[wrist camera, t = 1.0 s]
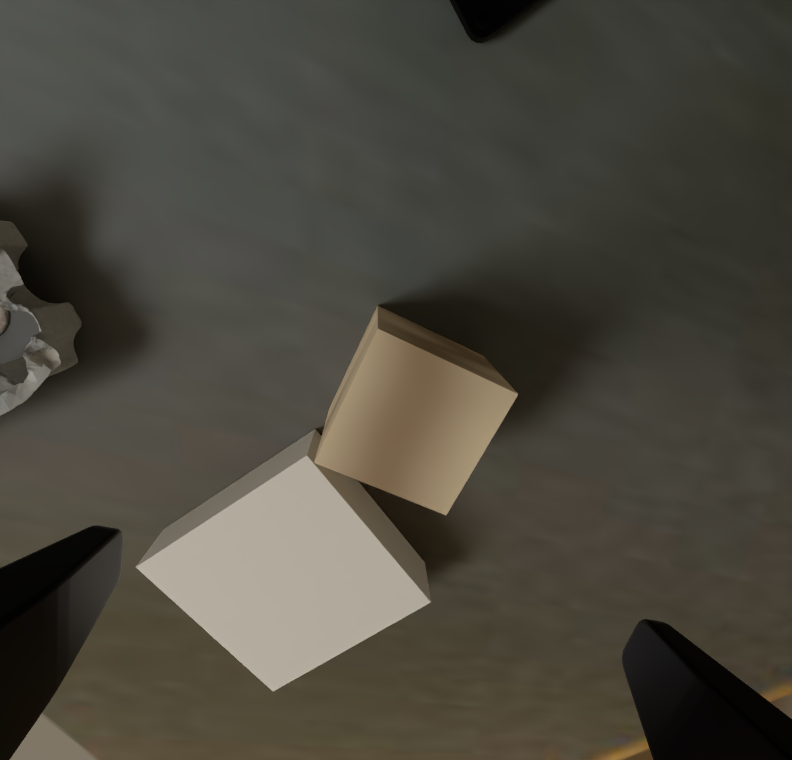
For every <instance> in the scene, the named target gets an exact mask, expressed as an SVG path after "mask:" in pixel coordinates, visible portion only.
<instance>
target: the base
mask: <svg viewBox="0 0 792 760" xmlns="http://www.w3.org/2000/svg"><path fill="white" fill-rule="evenodd" d="M320 440H321V435H320V434H319V433H318V431H317V430H316V429H314V430H313V431H311V432H310V433H308V434H307V435H305V436H304V437H302V438H301V439H299V440H298V441H296V442H295V443H293V444H292V445H290V446H289V447H287V448H286V449H284V450H283V451H281V452H280V453H278V454H277V455H275V456H274V457H272V458H271V459H269V460H268V461H266V462H265V463H263V464H262V465H260V466H259V467H257V468H255V469H254V470H252V471H251V472H249V473H248V474H246V475H245V476H243V477H242V478H240V479H239V480H237V481H236V482H234V483H233V484H231V485H230V486H228V487H227V488H225V489H224V490H222V491H221V492H219V493H218V494H216V495H215V496H213V497H212V498H210V499H209V500H207V501H206V502H204V503H203V504H201V505H200V506H198V507H197V508H195V509H194V510H192V511H190V512H189V513H187V514H186V515H184V516H183V517H181V518H180V519H178V520H177V521H175V522H174V523H172V524H171V525H169V526H168V527H166V528H165V529H163V531H162V532H161V533H160V535H159V536H158V538H157V539H156V540H155V542H154V543H153V544H152V546H151V547H150V548H149V550H148V551H147V552H146V554H145V555H144V557H143V558H142V559H141V561H140V562H139V563H138V565H137V566H136V568H137V569H138V570H139V571H141V572H142V573H143V574H144V575H145V576H146V577H147V578H148V579H149V580H150V581H152V582H153V583H154V584H155V585H156V586H157V587H158V588H159V589H160V590H162V591H163V592H164V593H165V594H166V595H167V596H168V597H169V598H170V599H171V600H173V601H174V602H175V603H176V604H177V605H178V606H179V607H180V608H181V609H182V610H184V611H185V612H186V613H187V614H188V615H189V616H190V617H191V618H192V619H193V620H195V621H196V622H197V623H198V624H199V625H200V626H201V627H202V628H203V629H205V630H206V631H207V632H208V633H209V634H210V635H211V636H212V637H213V638H214V639H216V640H217V641H218V642H219V643H220V644H221V645H222V646H223V647H224V648H225V649H227V650H228V651H229V652H230V653H231V654H232V655H233V656H234V657H235V658H236V659H238V660H239V661H240V662H241V663H242V664H243V665H244V666H245V667H246V668H248V669H249V670H250V671H251V672H252V673H253V674H254V675H255V676H256V677H257V678H259V679H260V680H261V681H262V682H263V683H264V684H265V685H266V686H267V687H268V688H270V689H271V690H272V691H275V690H277V689H278V688H280V687H282V686H284V685H285V684H287V683H289V682H291V681H293V680H294V679H296V678H298V677H300V676H301V675H303V674H305V673H307V672H308V671H310V670H312V669H314V668H316V667H317V666H319V665H321V664H323V663H324V662H326V661H328V660H330V659H331V658H333V657H335V656H337V655H339V654H340V653H342V652H344V651H346V650H347V649H349V648H351V647H353V646H354V645H356V644H358V643H360V642H361V641H363V640H365V639H367V638H369V637H370V636H372V635H374V634H376V633H377V632H379V631H381V630H383V629H384V628H386V627H388V626H390V625H392V624H393V623H395V622H397V621H399V620H400V619H402V618H404V617H406V616H407V615H409V614H411V613H413V612H415V611H416V610H418V609H420V608H422V607H423V606H425V605H427V604H429V603H430V602H431V599H430V593H429V586H428V579H427V573H426V566H425V562H424V561H423V560H422V558H421V557H420V556H419V555H418V554H417V552H416V551H415V550H414V549H413V547H412V546H411V545H410V544H409V543H408V541H407V540H406V539H405V538H404V536H403V535H402V534H401V533H400V532H399V530H398V529H397V528H396V527H395V525H394V524H393V523H392V522H391V521H390V519H389V518H388V517H387V516H386V514H385V513H384V512H383V511H382V510H381V508H380V507H379V506H378V505H377V504H376V502H375V501H374V500H373V499H372V497H371V496H370V495H369V494H368V493H367V491H366V490H365V489H364V488H363V486H362V485H361V484H360V483H359V482H358V480H356V479H353V478H351V477H348V476H346V475H343V474H341V473H338V472H336V471H333V470H331V469H328V468H326V467H323V466H321V465H318V464H316V463H314V461H315V458H316V454H317V450H318V447H319V443H320Z"/></svg>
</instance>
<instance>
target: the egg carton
mask: <svg viewBox="0 0 792 760" xmlns="http://www.w3.org/2000/svg"><path fill="white" fill-rule="evenodd" d="M27 246H28V245H27V243H26V241H25V239H24V238H23V236H22V235H21V234H20V232H19V231H18V229H17V227H16V226H15V225H14V224H13V222H10V221H0V334H2V333H3V332H4V330H5V329H6V328H7V325H8V321H9V311H8V310H10V311H24V312H29V313H30V314H31V315H32V316H33V317H34V318H35V320H36V322H37V323H38V325H39V330H40V333H38V334H37V335H34V336H31V341H30V343H29V344H28V345H27V346H26V347H25V350H24V353H23V357H24V358H19V359H17V360H13V361H10V362H7V363H4V364H0V416H1V415H2V414H4V413H6V412H8V411H10V410H12V409H14V408H15V407H17V406H18V405H20V404H22V403H23V402H25V401H26V400H27V399H28V398H29V397H30V396H31V395H32V394H33V393H34V392H35V391H36V390H37V388H38V387H39V386H40V385H41V384H42V382H43V381H44V380H45V379H46V378H47V377H49V376H51V375H54V374H57V373H59V372H62V371H64V370H66V369H68V368H70V367H72V366H74V365H75V364H77V363H78V358H77V355H76V353H75V350H74V345H73V342H74V337H75V335H76V333H77V331H78V330H79V329H80V327H81V326H82V322H81V320H80V318H79V316H78V315H77V313H76V312H75V310H74V307H73V306H72V305H71V304H70V303H69V302H65V303H49V302H45V301H43V300H40V299H39V298H37V297H36V296H35V295H33V294H32V293H31V292H30V291H29V290H28V289H27V288H26V287H25V285H24V283H23V281H22V279H21V276H20V275H19V272H18V260H19V258H20V256H21V254H22V253H23V252H24V250H25V249H26V248H27Z"/></svg>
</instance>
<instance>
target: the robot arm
mask: <svg viewBox="0 0 792 760" xmlns="http://www.w3.org/2000/svg"><path fill="white" fill-rule="evenodd" d="M538 1H539V0H450V2H451V4H452V6H453V8H454V10H455V12H456V14H457V15H458V17H459V19H460V21H461V23H462V25H463V27H464V29H465V31H466V33H467V35H468V36H469V38H470V39H471V40H472V41H474V42H476V43H483V42H485V41H487V40H488V39H490V38H491V37H492V36H494V35H495V34H496V33H498V32H499V31H500V30H502V29H503V28H504V27H505V26H507V25H508V24H509V23H511V22H512V21H513V20H515V19H516V18H517V17H519V16H520V15H521V14H522V13H524V12H525V11H526V10H528V9H529V8H530V7H532V6H533V5H534V4H536V3H537V2H538ZM477 17H484V18H485V19H486V20H487V24H488V26H487V28H485V29H480V28H478V27H477V25H476V22H475V19H476V18H477ZM122 548H123V534H122V532H121V531H120V530H119V529H115V528H110V527H104V526H91V527H88V528H86V529H84V530H82V531H80V532H77V533H75V534H73V535H71V536H69V537H67V538H64V539H62V540H60V541H58V542H56V543H54V544H51V545H49V546H47V547H45V548H43V549H41V550H38V551H36V552H34V553H32V554H30V555H28V556H25V557H23V558H21V559H19V560H17V561H14V562H12V563H10V564H8V565H6V566H4V567H1V568H0V760H9V759H10V758H11V757H12V755H13V754H14V753H15V751H16V750H17V748H18V747H19V745H20V744H21V742H22V741H23V740H24V738H25V737H26V735H27V734H28V732H29V731H30V729H31V728H32V726H33V725H34V724H35V722H36V721H37V719H38V718H39V716H40V715H41V713H42V712H43V710H44V709H45V707H46V706H47V704H48V703H49V701H50V700H51V698H52V697H53V695H54V694H55V692H56V691H57V689H58V687H59V686H60V684H61V682H62V681H63V679H64V677H65V676H66V674H67V672H68V670H69V669H70V667H71V665H72V663H73V661H74V660H75V658H76V656H77V654H78V653H79V651H80V649H81V647H82V646H83V644H84V642H85V640H86V638H87V637H88V635H89V633H90V631H91V630H92V628H93V626H94V624H95V622H96V621H97V619H98V617H99V615H100V614H101V612H102V610H103V608H104V607H105V605H106V603H107V601H108V599H109V598H110V596H111V594H112V592H113V591H114V589H115V587H116V585H117V582H118V580H119V577H120V573H121V563H122ZM622 664H623V668H624V671H625V675H626V678H627V681H628V684H629V687H630V690H631V693H632V696H633V699H634V702H635V705H636V708H637V711H638V714H639V717H640V721H641V724H642V727H643V730H644V733H645V736H646V739H647V742H648V745H649V748H650V751H651V754H652V757H653V760H792V719H791V718H789V717H788V716H787V715H786V714H784V713H783V712H782V711H780V710H779V709H778V708H776V707H775V706H774V705H773V704H771V703H770V702H769V701H767V700H766V699H765V698H763V697H762V696H761V695H760V694H758V693H757V692H756V691H754V690H753V689H752V688H750V687H749V686H748V685H747V684H745V683H744V682H743V681H741V680H740V679H739V678H737V677H736V676H735V675H734V674H732V673H731V672H730V671H728V670H727V669H726V668H724V667H723V666H722V665H721V664H719V663H718V662H717V661H715V660H714V659H713V658H711V657H710V656H709V655H708V654H706V653H705V652H704V651H702V650H701V649H700V648H698V647H697V646H696V645H695V644H693V643H692V642H691V641H689V640H688V639H687V638H685V637H684V636H683V635H682V634H680V633H679V632H678V631H676V630H675V629H674V628H672V627H671V626H670V625H668V624H666V623H664V622H660V621H654V620H648V619H644V620H641V621H640V622H639V623H638V624H637V626H636V628H635V629H634V631H633V633H632V635H631V637H630V639H629V641H628V643H627V644H626V646H625V648H624V650H623V654H622Z"/></svg>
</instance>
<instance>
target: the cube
mask: <svg viewBox="0 0 792 760" xmlns="http://www.w3.org/2000/svg"><path fill="white" fill-rule="evenodd" d="M517 396H518V393H517V392H516V391H515V390H514V389H513V388H512V387H511V386H510V385H509V383H508V382H507V381H506V380H505V379H504V378H503V377H502V376H501V375H500V374H499V373H498V371H497V370H496V369H495V368H494V367H493V366H492V365H491V364H490V363H489V362H488V361H487V359H486V358H485V357H484V356H483V355H481V354H479V353H476V352H474V351H472V350H470V349H468V348H466V347H464V346H462V345H460V344H458V343H456V342H453V341H451V340H449V339H447V338H445V337H443V336H441V335H439V334H437V333H435V332H432V331H430V330H428V329H426V328H424V327H422V326H420V325H418V324H416V323H414V322H411V321H409V320H407V319H405V318H403V317H401V316H399V315H397V314H395V313H393V312H390V311H388V310H386V309H384V308H382V307H380V306H377V308H376V310H375V312H374V314H373V316H372V318H371V321H370V323H369V325H368V327H367V329H366V331H365V333H364V336H363V338H362V340H361V342H360V344H359V346H358V348H357V351H356V353H355V355H354V357H353V359H352V361H351V363H350V365H349V368H348V370H347V372H346V374H345V376H344V378H343V380H342V383H341V385H340V387H339V389H338V391H337V393H336V395H335V398H334V400H333V402H332V404H331V406H330V408H329V412H328V415H327V419H326V422H325V426H324V429H323V433H322V436H321V440H320V443H319V447H318V450H317V454H316V458H315V461H314V463H316V464H318V465H321V466H323V467H326V468H328V469H331V470H333V471H336V472H338V473H341V474H343V475H346V476H348V477H351V478H353V479H356V480H358V481H361V482H363V483H366V484H368V485H371V486H373V487H376V488H379V489H381V490H384V491H386V492H389V493H391V494H394V495H396V496H399V497H401V498H404V499H406V500H409V501H411V502H414V503H416V504H419V505H421V506H424V507H426V508H429V509H431V510H434V511H436V512H439V513H441V514H444V515H447V513H448V512H449V510H450V508H451V507H452V505H453V503H454V502H455V500H456V498H457V497H458V495H459V493H460V492H461V490H462V488H463V486H464V485H465V483H466V481H467V480H468V478H469V476H470V475H471V473H472V471H473V470H474V468H475V466H476V465H477V463H478V461H479V460H480V458H481V456H482V455H483V453H484V451H485V450H486V448H487V446H488V444H489V443H490V441H491V439H492V438H493V436H494V434H495V433H496V431H497V429H498V428H499V426H500V424H501V423H502V421H503V419H504V418H505V416H506V414H507V413H508V411H509V409H510V408H511V406H512V404H513V402H514V401H515V399H516V397H517Z"/></svg>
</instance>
